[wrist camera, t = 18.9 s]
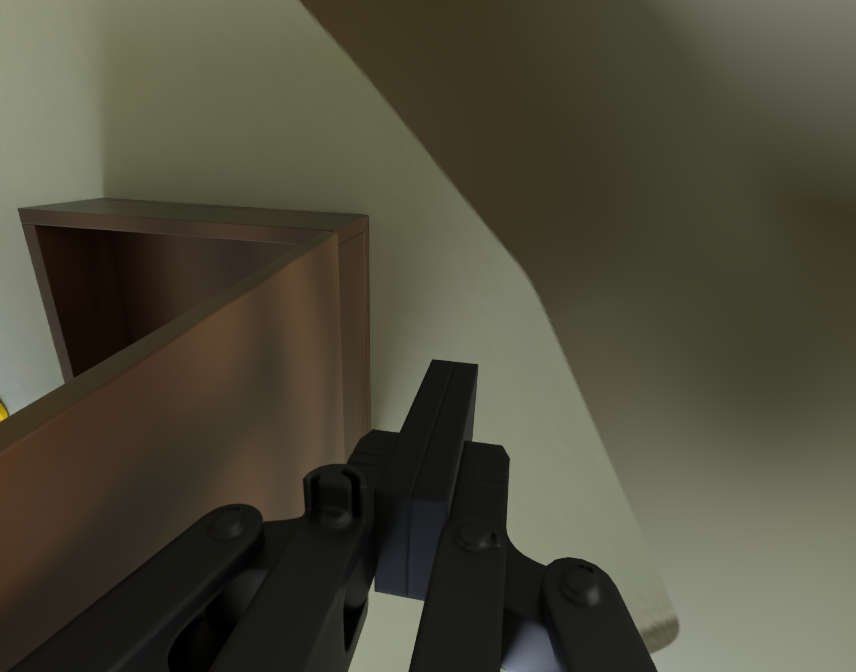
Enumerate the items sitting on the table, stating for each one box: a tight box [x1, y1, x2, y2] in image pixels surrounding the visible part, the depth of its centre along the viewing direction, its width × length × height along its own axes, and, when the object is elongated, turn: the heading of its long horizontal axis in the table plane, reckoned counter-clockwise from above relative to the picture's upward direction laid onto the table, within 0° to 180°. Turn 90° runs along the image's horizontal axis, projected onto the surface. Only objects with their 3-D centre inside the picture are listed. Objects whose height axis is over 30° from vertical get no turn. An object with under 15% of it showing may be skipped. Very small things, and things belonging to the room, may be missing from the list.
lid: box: [0, 232, 345, 672], centre depth 19 cm, size 21×19×1 cm
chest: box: [18, 198, 371, 464], centre depth 34 cm, size 20×19×6 cm
